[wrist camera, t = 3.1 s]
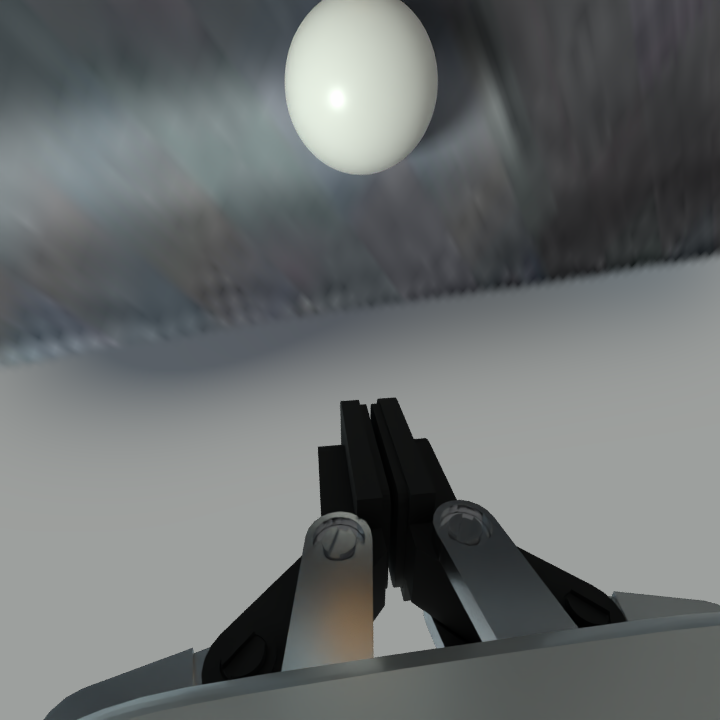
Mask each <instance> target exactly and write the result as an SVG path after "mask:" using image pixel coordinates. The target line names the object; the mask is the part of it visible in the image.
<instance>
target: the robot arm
mask: <svg viewBox="0 0 720 720" xmlns="http://www.w3.org/2000/svg"><path fill="white" fill-rule="evenodd" d="M340 411H341V445H335V446H323V447H318V458H319V477H320V479H319V480H320V498H321V499H320V500H321V517H320V518H319V519H317V520H316V521H314V523H313V524H312V525H311V526H310V527H309V529H308V532H307V534H306V537H305V543H304V548H303V554H302V556H301V557H300V558H299V559H298V560H297V561H296V562H295V563H294V564H293V565H292V566H291V567H290V568H289V569H288V570H287V571H286V572H285V573H283V574H282V576H280V578H278V579H277V580H276V581H275V582H274V583H273V584H272V585H271V586H270V587H269V588H268V589H267V590H266V591H265V592H264V593H263V594H262V595H261V596H260V597H259V598H258V599H257V600H256V601H255V602H253V604H251V606H250V607H248V608H247V609H246V610H245V611H244V613H242V614H241V615H240V616H239V617H238V618H237V619H236V620H235V621H234V622H233V623H232V624H231V625H230V626H229V627H228V628H227V629H226V630H224V632H222V633H221V634H220V636H219V637H218V638H217V639H216V640H215V642H214V643H213V644H212V645H211V647H210V648H207V649H204V650H202V651H199V652H196V653H194V651H193V648H191V649H188V650H186V651H183V652H180V653H178V654H175V655H172V656H169V657H167V658H164V659H161V660H159V661H156V662H153V663H150V664H148V665H145V666H143V667H140V668H137V669H134V670H132V671H129V672H126V673H123V674H121V675H118V676H115V677H113V678H110V679H108V680H105V681H102V682H99V683H96V684H94V685H91V686H88V687H86V688H83V689H81V690H79V691H78V692H75V693H74V694H72V695H70V696H68V697H66V698H65V699H64V700H63V701H62V702H60V703H59V704H58V705H57V706H56V707H55V708H53V709H52V710H51V711H50V712H49V713H48V715H47V716H46V717H45V719H44V720H720V605H718V604H715V603H711V602H707V601H700V600H691V599H682V598H672V597H663V596H653V595H644V594H634V593H624V592H615V591H614V592H613V594H612V597H610V596H607V595H606V594H604V592H602V591H600V590H599V589H597V588H596V587H594V586H593V585H591V584H589V583H587V582H585V581H583V580H581V579H579V578H577V577H575V576H573V575H571V574H569V573H567V572H565V571H563V570H561V569H560V568H558V567H556V566H554V565H552V564H550V563H548V562H546V561H544V560H542V559H540V558H538V557H536V556H534V555H532V554H530V553H528V552H526V551H525V550H523V549H521V548H519V547H517V546H516V545H515V544H514V543H513V542H512V540H511V539H510V538H509V536H508V535H507V534H506V532H505V531H504V530H503V528H502V527H501V526H500V524H499V523H498V522H497V520H496V519H495V518H494V517H493V516H492V515H491V514H490V513H489V512H488V511H487V510H486V509H485V508H483V507H481V506H480V505H478V504H475V503H472V502H470V501H464V500H457V499H456V497H455V495H454V493H453V491H452V489H451V487H450V485H449V483H448V481H447V478H446V476H445V474H444V472H443V470H442V468H441V466H440V464H439V462H438V459H437V458H436V455H435V454H434V451H433V449H432V447H431V445H430V443H429V441H428V439H426V438H423V439H413V437H412V434H411V432H410V429H409V427H408V424H407V422H406V420H405V417H404V415H403V413H402V410H401V408H400V405H399V403H398V401H397V399H396V398H382V399H378V400H377V404H371V419H370V417H369V413H368V409H367V406H366V404H364V405H360V403H359V400H353V401H341V402H340ZM388 567H389V572H390V576H391V581H392V585H393V587H400V588H401V592H402V596H403V600H404V601H408V600H411V602H412V603H414V604H415V605H416V606H418V607H419V608H421V609H422V610H424V618H425V622H426V625H427V627H428V630H429V632H430V634H431V637H432V639H433V641H434V644H435V646H436V649H431V650H423V651H416V652H409V653H403V654H396V655H389V656H382V657H375V658H373V621H374V620H375V618H376V617H377V616H378V614H379V613H380V611H381V610H382V608H383V607H384V606H385V589H386V588H387V585H388Z"/></svg>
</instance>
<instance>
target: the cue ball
mask: <svg viewBox="0 0 720 720" xmlns="http://www.w3.org/2000/svg"><path fill="white" fill-rule="evenodd" d="M437 91H438V72H437V63H436V58H435V53H434V50H433V47H432V44H431V41H430V39H429V36H428V34H427V32H426V30H425V28H424V26H423V25H422V23H421V22H420V20H419V19H418V17H417V16H416V15H415V14H414V12H413V11H412V10H411V9H410V8H409V7H408V6H407V5H406V4H405V3H403V2H402V1H400V0H322V1H321V2H320V3H319V4H317V5H316V6H315V7H314V8H313V9H312V10H311V11H310V12H309V14H308V15H307V16H306V17H305V18H304V20H303V22H302V23H301V25H300V26H299V28H298V29H297V31H296V34H295V36H294V38H293V40H292V43H291V46H290V49H289V52H288V56H287V61H286V69H285V94H286V102H287V106H288V110H289V114H290V117H291V120H292V123H293V125H294V127H295V129H296V131H297V133H298V135H299V137H300V138H301V140H302V141H303V143H304V144H305V145H306V147H307V148H308V149H309V150H310V152H311V153H313V154H314V155H315V156H316V157H317V158H318V159H319V160H320V161H322V162H323V163H325V164H326V165H328V166H330V167H331V168H333V169H335V170H338V171H341V172H344V173H348V174H354V175H368V174H374V173H379V172H381V171H384V170H387V169H389V168H391V167H392V166H394V165H396V164H398V163H399V162H400V161H402V160H403V159H405V158H406V157H407V156H408V155H409V154H410V153H411V152H412V151H413V150H414V148H415V147H416V146H417V145H418V144H419V142H420V140H421V139H422V137H423V136H424V134H425V132H426V130H427V128H428V126H429V124H430V121H431V118H432V115H433V112H434V108H435V104H436V99H437Z"/></svg>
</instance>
